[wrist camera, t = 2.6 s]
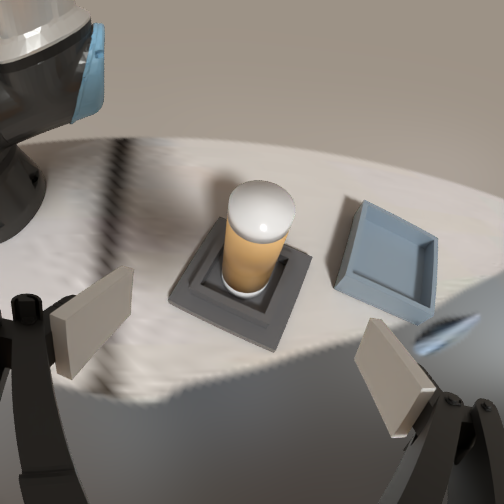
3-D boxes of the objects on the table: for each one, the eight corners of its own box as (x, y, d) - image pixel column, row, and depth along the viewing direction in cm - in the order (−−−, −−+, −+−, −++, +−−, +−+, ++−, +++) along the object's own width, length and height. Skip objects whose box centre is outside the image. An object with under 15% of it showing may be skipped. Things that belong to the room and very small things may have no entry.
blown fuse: (213, 286, 31) (216, 214, 21) (233, 250, 34) (245, 172, 24) (256, 306, 31) (282, 243, 20) (274, 268, 33) (303, 195, 23)
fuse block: (168, 303, 30) (165, 293, 28) (219, 221, 37) (220, 208, 35) (273, 352, 29) (278, 346, 27) (310, 261, 36) (316, 250, 33)
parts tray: (333, 288, 34) (345, 275, 31) (354, 215, 40) (364, 199, 37) (417, 325, 33) (433, 315, 30) (425, 250, 39) (437, 238, 36)
